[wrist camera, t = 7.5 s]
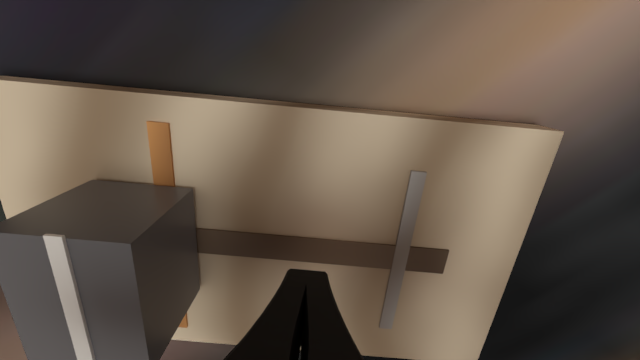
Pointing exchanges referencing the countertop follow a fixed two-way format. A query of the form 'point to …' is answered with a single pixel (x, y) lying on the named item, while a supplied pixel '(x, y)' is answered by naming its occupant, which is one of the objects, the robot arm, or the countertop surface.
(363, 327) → the fader board
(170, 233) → the fader knob
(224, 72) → the countertop surface
